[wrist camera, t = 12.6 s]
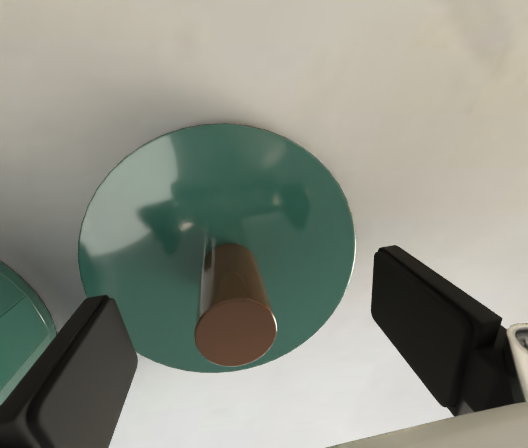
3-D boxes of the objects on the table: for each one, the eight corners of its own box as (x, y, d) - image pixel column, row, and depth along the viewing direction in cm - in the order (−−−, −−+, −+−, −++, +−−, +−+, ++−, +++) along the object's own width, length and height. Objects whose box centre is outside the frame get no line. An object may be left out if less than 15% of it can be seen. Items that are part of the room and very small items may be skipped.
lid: (374, 147, 14) (479, 155, 9) (319, 355, 19) (365, 453, 13) (80, 98, 11) (-61, 61, 6) (95, 360, 16) (25, 491, 10)
